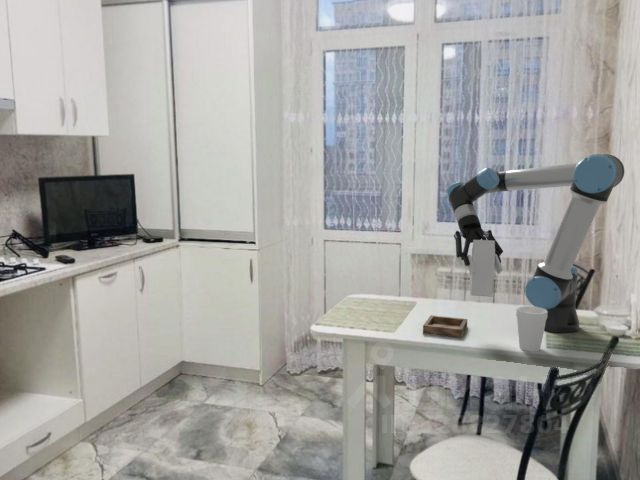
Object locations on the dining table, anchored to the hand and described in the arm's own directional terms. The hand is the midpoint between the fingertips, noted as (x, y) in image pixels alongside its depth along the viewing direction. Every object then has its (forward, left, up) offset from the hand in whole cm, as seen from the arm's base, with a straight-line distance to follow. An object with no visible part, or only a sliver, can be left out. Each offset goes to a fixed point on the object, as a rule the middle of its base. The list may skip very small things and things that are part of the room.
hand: (486, 272), depth 199 cm
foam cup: (-15, +6, -23) cm, 28 cm away
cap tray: (+14, -3, -23) cm, 27 cm away
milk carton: (+2, -3, -9) cm, 9 cm away
